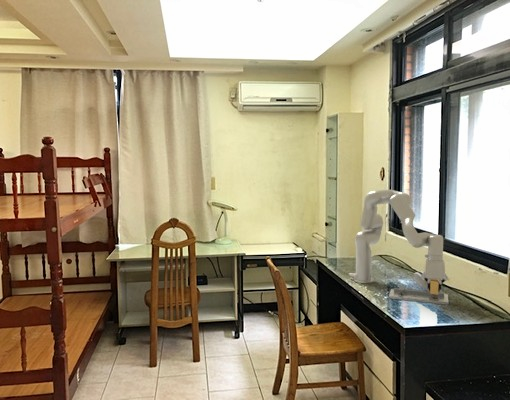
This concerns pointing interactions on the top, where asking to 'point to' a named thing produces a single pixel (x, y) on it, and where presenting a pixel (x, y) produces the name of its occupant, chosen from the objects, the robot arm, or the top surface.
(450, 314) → the top surface
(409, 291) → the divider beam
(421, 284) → the grey curved piece
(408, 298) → the hole plate
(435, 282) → the block
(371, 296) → the top surface
